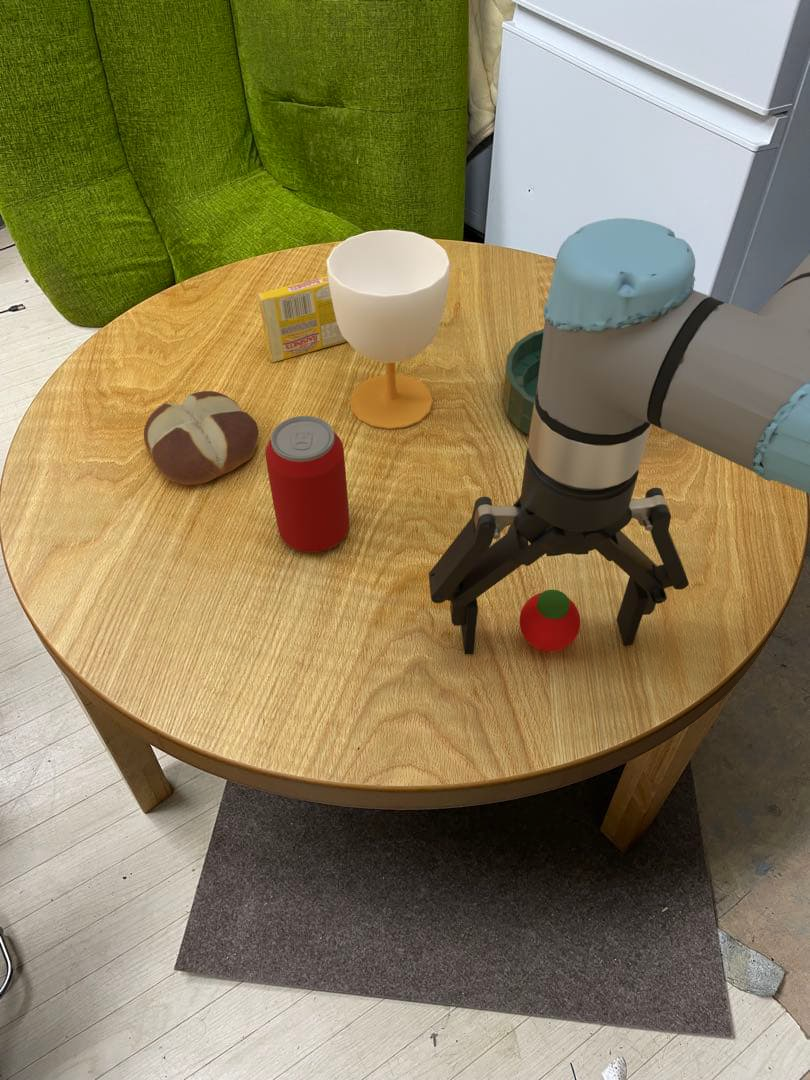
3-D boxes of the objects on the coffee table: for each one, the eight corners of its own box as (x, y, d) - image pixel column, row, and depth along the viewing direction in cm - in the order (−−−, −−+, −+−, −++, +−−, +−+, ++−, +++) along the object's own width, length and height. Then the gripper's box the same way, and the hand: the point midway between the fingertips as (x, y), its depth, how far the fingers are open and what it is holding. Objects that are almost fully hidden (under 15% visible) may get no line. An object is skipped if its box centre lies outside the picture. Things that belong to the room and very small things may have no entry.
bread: (167, 500, 85) (156, 464, 81) (138, 430, 92) (127, 393, 88) (274, 466, 88) (268, 429, 84) (239, 400, 95) (232, 363, 91)
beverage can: (351, 504, 84) (344, 409, 75) (348, 558, 80) (340, 464, 71) (282, 505, 84) (266, 410, 75) (275, 558, 80) (258, 464, 71)
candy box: (394, 318, 105) (392, 256, 98) (401, 328, 103) (400, 266, 97) (266, 353, 100) (256, 291, 94) (272, 363, 99) (262, 301, 93)
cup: (422, 359, 99) (424, 220, 87) (461, 422, 92) (469, 281, 79) (324, 381, 97) (310, 242, 84) (356, 449, 90) (347, 307, 77)
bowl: (660, 384, 96) (670, 347, 92) (619, 471, 87) (629, 434, 83) (532, 348, 101) (536, 311, 97) (480, 427, 92) (483, 390, 88)
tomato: (583, 627, 75) (593, 590, 71) (564, 672, 72) (572, 636, 68) (529, 607, 76) (535, 569, 72) (507, 650, 73) (513, 613, 69)
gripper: (748, 408, 61) (678, 593, 77) (394, 425, 60) (397, 609, 76) (786, 485, 56) (702, 665, 72) (400, 504, 55) (403, 683, 71)
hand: (546, 636), depth 74 cm, fingers open, 13 cm apart
